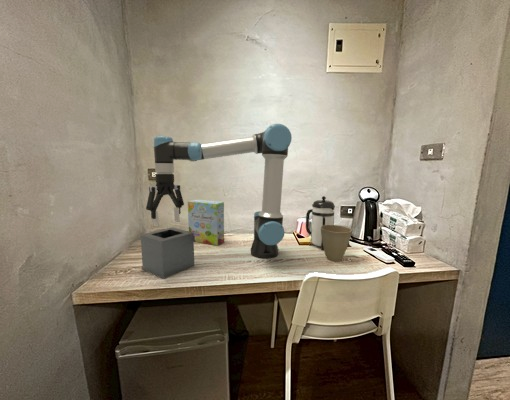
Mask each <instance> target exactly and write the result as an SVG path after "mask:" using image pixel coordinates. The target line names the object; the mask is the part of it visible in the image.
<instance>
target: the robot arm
mask: <svg viewBox="0 0 510 400" xmlns="http://www.w3.org/2000/svg"><path fill="white" fill-rule="evenodd" d="M292 140H293V139H292V133H291V131H290V129H289V127H287V126H286V125H284V124H282V123H274V124H271V125H269V126H268V127H266V129H265V130H264V131H262V132H258V133H253V135H252V136H250V137H249V136H248V137H241V138H234V139H233V138H232V139H226V140H220V141H213V142H205V143H200V142H196V141H195V142H194V141H190V142H189V141H186V142H184V141H183V142H182V141H174V140H173V138H172V137H171V136H164V135H158V136H155V137H154V138H153V152H154V153H153V154H154V155H153V157H154V170H155V171H154V173H156V174H155V183H156V185H155V186H149V187H148V189H149V190H148V191H149V193H148V197H147V202H146V203H147V204H146V208H145V209H146V211H150V215H151V216H150V217H151V219H152V222H153V225H152V226H154V227H159V225H160V224H159V222H160V221H159V210H157V209H158V207H159V205H160V203H161V200H162V198H163V197H164V196H166V195H168V196H169V197H170V199H171V200H172V203H173V204H174V206H175V207H173V209H174V210H173V213H174V215H173V216H174V222H176V223H179V222H181V221H180V215H181V208H183V206H185V203H184V199H183V196H182V193H181V192H182V191H181V185H179V184H175V175H174V173H175V166H174V165H175V164H174V161H178V160H180V161H181V160H182V161H190V162H198V161H203V160H209V159H216V158H223V157H229V156H236V155H244V154H248V153H249V154H250V153H254V154H255V155H258V154H261V156H262V158H264V169H263V170H264V171H263V172H264V173H263V184H262V185H263V186H262V202H261V203H262V204H261V211H260V210H259V211H255V212H254V214H253V215H254V216H253V242H252V244H251V247H250V255H251V256H253V257H255V258H259V259H272V258H275V257H277V256H279V247H278V244H279V243H280V242H282V241H283V238H284V237H285V228H284V226H283V221H284V215H283V213H282V212H281V205H282V192H283V191H282V189H283V179H284V178H283V176H284V164H285V159H287V158H288V155H289V147H290V145H291V142H292Z"/></svg>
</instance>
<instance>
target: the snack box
mask: <svg viewBox="0 0 510 400" xmlns="http://www.w3.org/2000/svg"><path fill="white" fill-rule="evenodd" d="M187 218H188V221H187V222H188V223H187V224H188V231H189V232H193V235H194V243H201V244H206V245H212V246H217V247H218V246H220V245H221V244H223V243H225V201H216V200H209V199H208V200H207V199H192V200H191V199H190V200H188V201H187Z"/></svg>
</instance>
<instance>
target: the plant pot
mask: <svg viewBox="0 0 510 400" xmlns="http://www.w3.org/2000/svg"><path fill="white" fill-rule="evenodd" d="M352 231H353V229H351V228H349V227H347V226H342V225H337V224H335V225H323V226H321V236H322V243H323V247H324V250H323V251H324V254H325V258H326V259H327V260H328V261H332V262H340V261H342V260H343V257H344V255H345V253H346V252H347V250H348V249H347V248H348V246H349V244H350V241H351V240H350V239H351V236H352Z"/></svg>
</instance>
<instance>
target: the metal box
mask: <svg viewBox="0 0 510 400" xmlns="http://www.w3.org/2000/svg"><path fill="white" fill-rule="evenodd" d="M140 247H141V261H142V264H141V265H142V270H144V271H146V272H148V273H150V274H152V275H153V276H156V277H158V278H161V279H162V280H165V279H168V278H170V277H171V276H174V275H177V274H179V273H181V272H184V271H186V270H188V269H190V268H192V267H194V266H195V242H194V235H193V232H189V230H185V229H184V230H183V229H180V228H176V227H168V228H164V229H159V230H156V231H155V230H154V231H151V232H146V233H143V234H140Z"/></svg>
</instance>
